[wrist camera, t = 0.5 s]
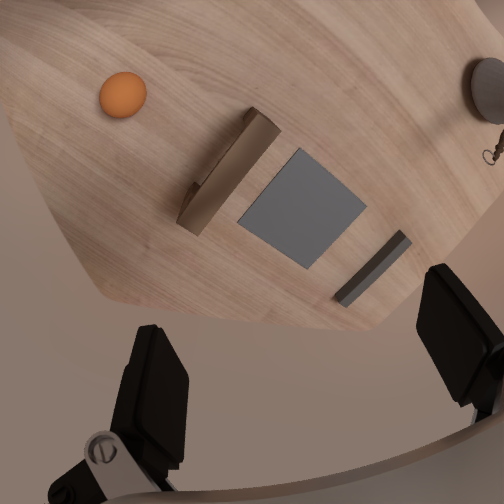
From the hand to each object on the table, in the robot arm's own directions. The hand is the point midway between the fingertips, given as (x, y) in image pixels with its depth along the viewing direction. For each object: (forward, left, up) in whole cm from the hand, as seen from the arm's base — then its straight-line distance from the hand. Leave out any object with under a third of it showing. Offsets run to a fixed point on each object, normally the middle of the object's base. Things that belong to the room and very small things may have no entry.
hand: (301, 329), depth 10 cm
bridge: (-1, -4, -34) cm, 35 cm away
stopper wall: (+29, -4, -34) cm, 45 cm away
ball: (-17, -4, -31) cm, 36 cm away
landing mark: (+13, -4, -34) cm, 37 cm away
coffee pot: (+22, +29, -35) cm, 50 cm away
